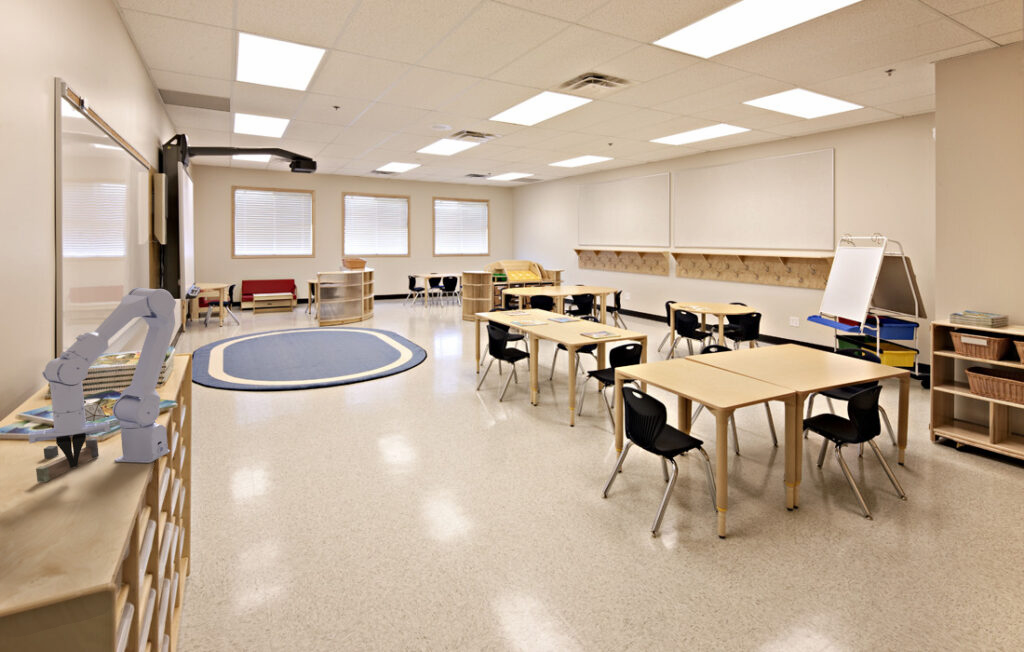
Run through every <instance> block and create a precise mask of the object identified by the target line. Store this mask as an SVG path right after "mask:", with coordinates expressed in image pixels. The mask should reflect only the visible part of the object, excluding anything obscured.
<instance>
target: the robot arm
mask: <svg viewBox="0 0 1024 652" xmlns="http://www.w3.org/2000/svg"><path fill="white" fill-rule="evenodd" d="M176 305H177V301H176V300H175V298H174V297H173V295H172V294H171V292H170V291H168V290H166V289H163V288H157V289H155V288H143V287H134V288H132V289H131V290H130V291H129V292H128V293H127V294H125V295H124V296H123V297H122V298H121V300H120V303H119V304H118V305H117V306H116V307H115V309H114V310H113V311H112V312H111V313H110V314H109V315H108V316H107V318H105V320H104V321H103V322H102V323H101V324H100V325H99V326H97V328H96V329H95V331H93V332H92V331H91V332H90V331H89V332H84V333H83V334H79V335H77V336H76V338H75V339H76V341H74V343H73V344H71V345H70V347H69V348H68V349H67V350H65V351H62V352H61V353H60V354H59V355H60V356H59V357H57V358H54V359H51V360H50V361H48V363H47V364H46V366H45V368H44V371H42V373H41V374H42V376H43V378H44V379H45V380H46V381H47V382H48V383H49V388H50V398H51V406H52V417H53V427H52V428H47V429H43V430H38V431H31V432H28V443H29V444H34V443H36V442H43V441H48V440H56V441H55V442H56V446H58V449H60V450H61V452H62V453H63V454H64V456H66V458H67V460H68V462H69V465H70V468H72V469H74V468H77V467H79V465H78V459H79V455H80V451H81V449H82V448H83V447H84V444H85V440H87V435H89V434H91V435H92V434H98V433H103V432H104V433H108V432H111V427H110V426H111V425H110V421H105V422H99V423H87V424H86V418H85V408H84V400H85V399H84V388H83V381H84V380H85V379H87V377H88V374H89V369H90V367H91V366H92V365H93V364H94V363H95V361H97V360H98V359H99V357H101V356H102V355H103V354H104V352H106V351H107V350H108V349H109V340H110V339H112V338H113V337H114V336H115V335H116V334H117V333H119V331H121V330H122V329H123V328H124V327H125V326H126V325H128V324H129V323H130V322H131V321H132V320H133V319H134V318H142V319H144V322H145V323H146V324H147V325H148V329H147V332H146V335H145V338H144V342H143V344H142V348H141V352H140V355H139V357H138V360H137V364H136V367H135V369H134V370H135V371H134V372H133V376H132V379H131V383H130V385H129V386H127V387H126V388H124V389H123V390H122V391H121V394H120V396H119V398H118V399H117V400H116V401H115V402H114V403H113V407H112V414H113V416H114V418H115V419H116V420H118V423H119V426H120V436H121V449H122V455H121V456H119V457H117V458H115V459H113V460H114V462H115V463H138V464H139V463H141V464H149V463H152V462H154V461H156V460H158V459H159V458H161V457H163V456H164V455H165V456H166V454H168V453H170V452H171V450H170V449H169V446H168V435H167V433H168V432H167V429H166V427H165V425H163V424H159V423H157V422H156V421H157V420H158V418H159V416H160V413H161V412H160V411H161V410H160V409H161V408H160V400H161V396H160V394H159V393H158V391H157V390H156V388H157V384H158V381H159V378H160V375H161V371H162V368H163V365H164V363H165V358H166V355H167V352H168V349H169V346H170V343H171V340H172V335H173V332H174V330H175V327H176V319H175V307H176ZM73 452H74V458H73ZM73 467H74V468H73Z"/></svg>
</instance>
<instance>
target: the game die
mask: <svg viewBox="0 0 1024 652" xmlns="http://www.w3.org/2000/svg"><path fill="white" fill-rule="evenodd" d="M101 403H102V402H101V401H98V402H97V403H94V402H87V401H86V400H85V399H84V408H85V418H86V422H87V421H95V420H99V419H102V418H104V419H105V418H110V416H109V415H106V413H105V412H104V410H103V406H101Z"/></svg>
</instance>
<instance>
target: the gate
mask: <svg viewBox="0 0 1024 652" xmlns="http://www.w3.org/2000/svg"><path fill="white" fill-rule="evenodd" d="M84 444H85V446H84V447H82V449H81V451H80V455H79V459H78V466H80V465H82V464H84V463H86V462H89V461H91V460H93V459H97V458H98V457H99V444H98V438H95V437H92V438H86V440H85V442H84ZM72 453H73V458H74V452H73V451H72ZM74 468H75V467H73V468H70V465H69V462H68V460H67V458H66V456H65V455H64V456H62V457H60V458H58V459H55V460H53V461H50V462H48V463H47V464H45V465H42V466H39V467H36V468H35V473H36V479H37V480H36V482H38V483H46V482H48V481H50V479H53V478H55V477H57V476H60V475H61V474H63V473H65V472H68V471H69V470H72V469H74Z"/></svg>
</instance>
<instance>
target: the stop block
mask: <svg viewBox="0 0 1024 652" xmlns="http://www.w3.org/2000/svg"><path fill="white" fill-rule="evenodd" d="M43 455H44V459H54V458H56V457H57V455H58V456H59V447H58V445H49V446H47V447H45V448H43ZM53 457H54V458H53Z"/></svg>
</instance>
